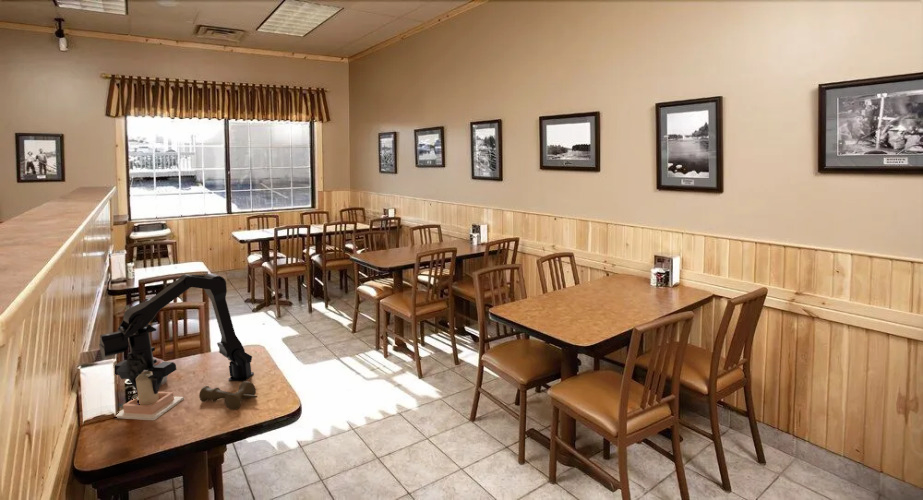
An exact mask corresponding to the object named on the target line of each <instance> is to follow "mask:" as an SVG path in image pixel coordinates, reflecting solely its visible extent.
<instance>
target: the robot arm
mask: <svg viewBox="0 0 923 500" xmlns="http://www.w3.org/2000/svg"><path fill="white" fill-rule="evenodd" d="M190 288H195V289H202V290H204V292H205V294H206V295H207V296H208V298H209V300H210V302H211V304H212V307H213V311H214V315H215V318H216V322H217V325H218V329H219V332H220V336H221V340H220V341H219V342H217V343H216V345H217V347H218V348H219V349H218V350H219V351H218V353H220V354H221V355H222V356H223V357H225V358H227V360H228V361H229V365H228V372H229V378H228V381H236V382H244V381H248V379H249V378H251V377H252V376H253V375H254V374H255V373H254V372H252V365H251V363H252V360H253V356H252V355H251V354H250V353H249V354H248V353H247V352H246V351H245V348H244V346H243V344H242V342H241V340H240V339H239V338H238V337H237V335H236V332H235V329H234V324H233V321H232V318H231V317H232V316H231V314H230V311H229V310H230V309H229V307H228V302H227V300H226V299H227V298H226V297H227V292H228V291H227V290H228V289H227V288H228V287H227V281H226V278H224V277H223V276H220V275H219V274H215V273H206V275H205V274H204V275H203V274H189V273H184V274H182V275H181V276H179V278H177V279H176V280H175V281H173V282H172V283H171V284H169V285H168V286H166V287H165V288H164V289H162V290H161V291H159V292H158V293H157V294H155V295H154V296H152V297H150V299H148V300H146V301H143V302H140V303H138V304H136V305H133V306H131V307H130V308H128V309H126V310H125V312H124V313H123V319H122V321H121V323H120V324H119V326H118V328H117V331H114V332H110V333H104V334H103V333H102V334H100V335H99V343H98V346H99V351H100V354H101V356H102V358H107V357H112V356H115V355H118V354H122V353H126V351H128V350H130V352H128V353H127V359H123V360H121V361H119V362H117V363H116V365H115V364H114V365H115V374H116V375H115V376H118V377H119V378H120V380H128V381H129V382H130V383H131V384H132V386H133V388H134V389H135V391H137V386H136V378H137V377H138V375H140V374H141V373H142V372H143V371H152V375H151V376H150V377H148V378H149V379H150V380H151V381H152V386H153V391H154V394H157V393H158V392H160V387H161V386H162V385H161V382H162V380H163V378H164V377H166V376H167V375H168V376H170V375H171V374H172V373H174V372H176V370H177V365H176V362H173V361H164V362H162V363H161V364H159V365H154V363H156V362H157V360H156V359H153V357H154V355H153V352H154V351H155V350H156V348H155V346H152V342H151V336H150V335H151V334H150V333H154V332H156V331H157V328H156V327H154V326H152V325H151V324H150V322H153V320H154V318H155V317H156V315H157V314H158V312H160V311H161V310H162V309H163V308H165V307H166V306H168V305H169V304H170V303H172V302H173V301H174V300H176V299H177V298H178V297H179V296H181V295H182V294H184V293H185V292H186V291H188V290H189V289H190ZM168 376H167V377H168Z"/></svg>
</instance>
